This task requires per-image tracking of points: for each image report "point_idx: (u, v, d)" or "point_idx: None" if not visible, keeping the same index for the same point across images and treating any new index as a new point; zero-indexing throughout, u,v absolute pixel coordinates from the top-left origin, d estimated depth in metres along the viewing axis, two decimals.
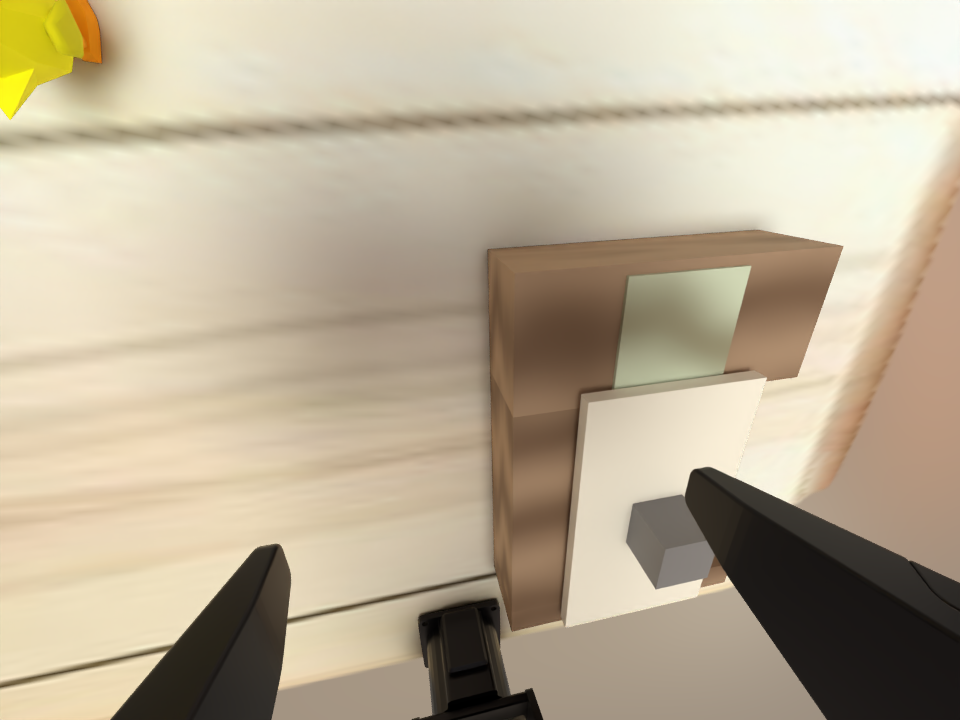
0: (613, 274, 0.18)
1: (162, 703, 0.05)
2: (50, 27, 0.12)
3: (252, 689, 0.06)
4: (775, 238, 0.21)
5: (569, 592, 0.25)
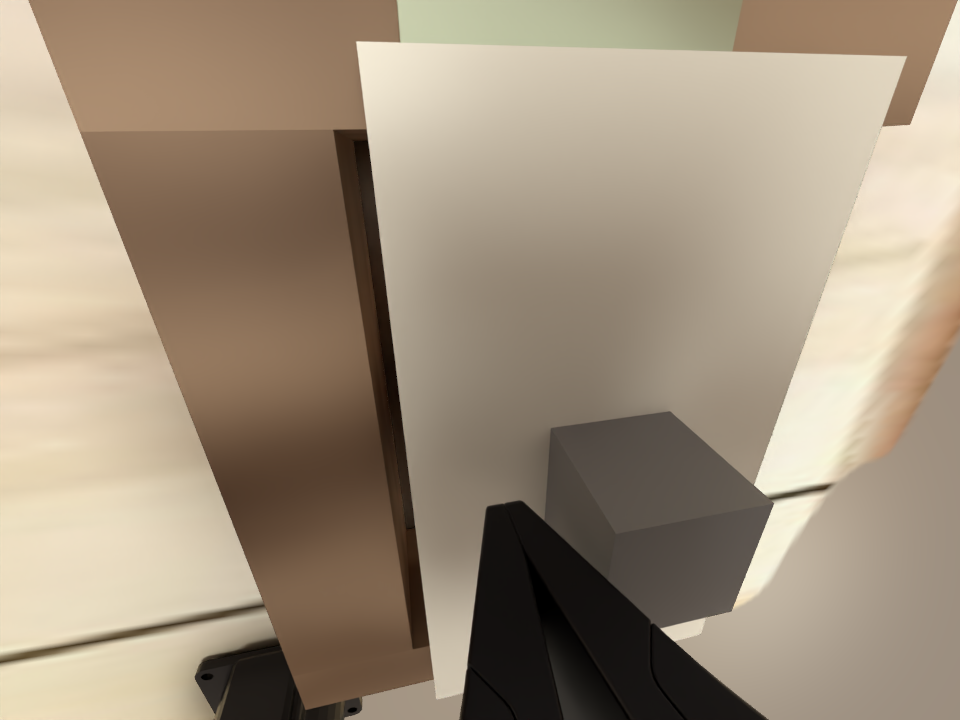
0: None
1: (499, 625, 0.06)
2: None
3: None
4: None
5: (429, 632, 0.12)
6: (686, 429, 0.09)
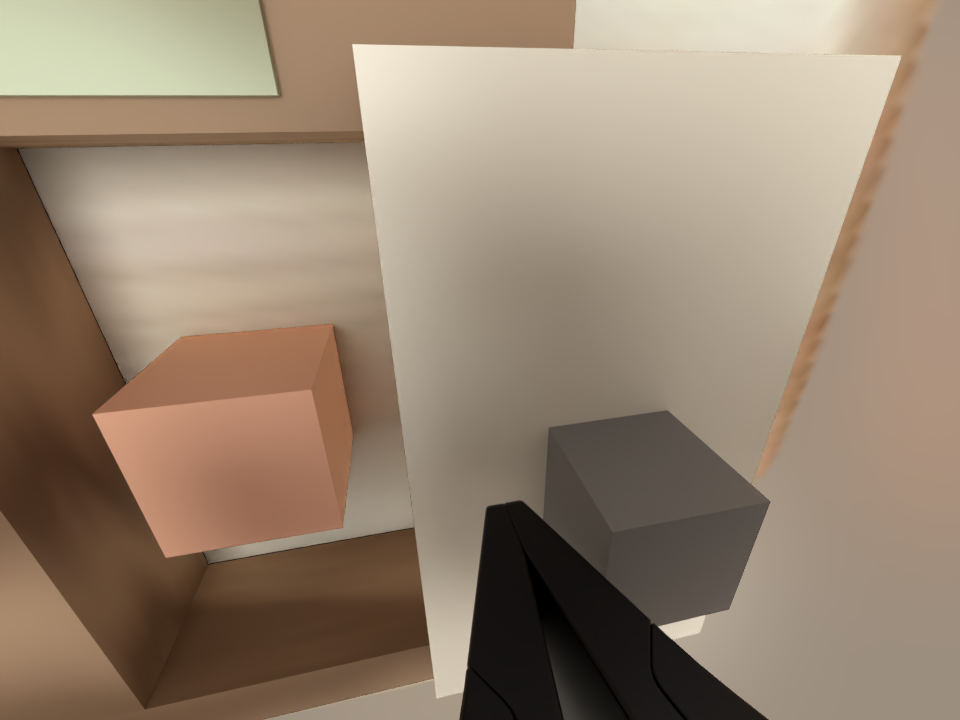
0: None
1: (499, 625, 0.06)
2: None
3: None
4: None
5: (429, 631, 0.12)
6: (684, 428, 0.09)
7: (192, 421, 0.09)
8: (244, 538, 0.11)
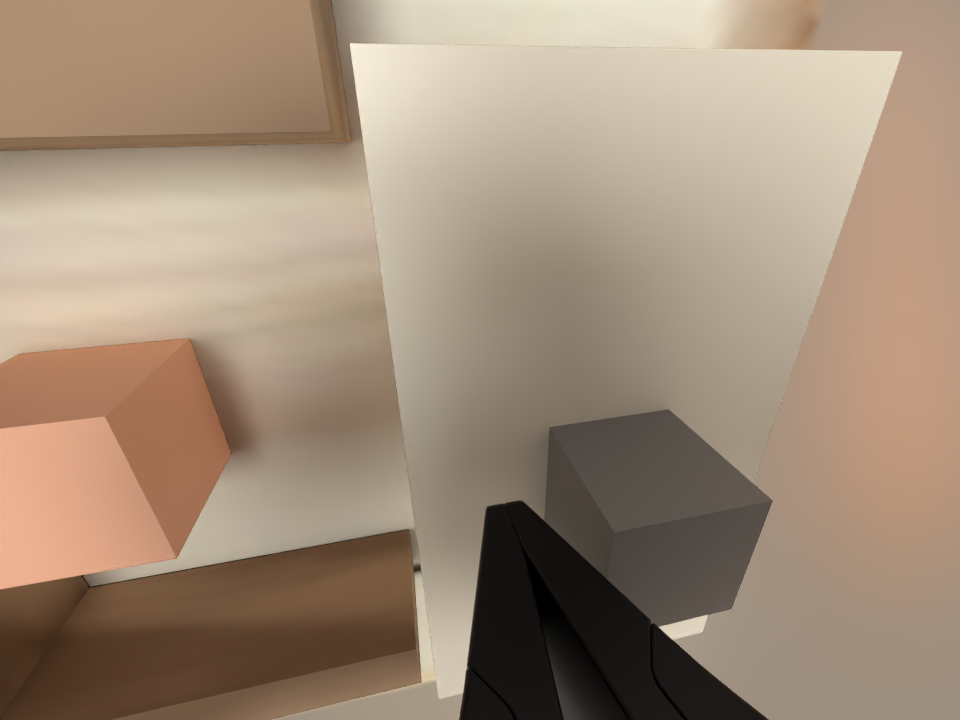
0: None
1: (499, 625, 0.06)
2: None
3: None
4: None
5: (431, 632, 0.12)
6: (686, 427, 0.09)
7: None
8: (62, 572, 0.10)
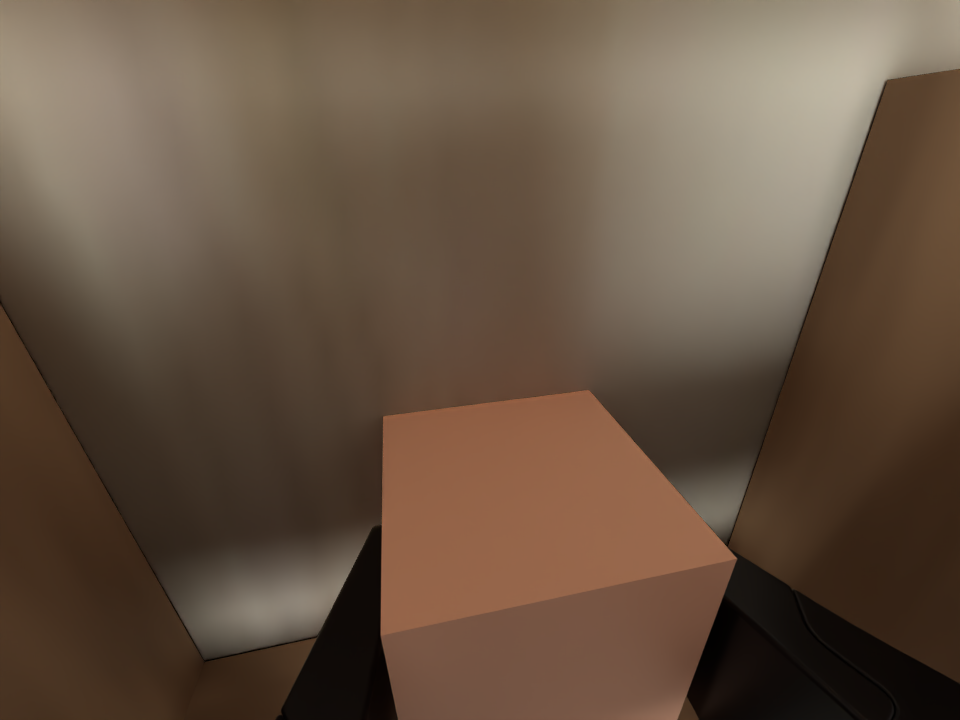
0: None
1: (337, 663, 0.06)
2: None
3: None
4: None
5: None
6: None
7: None
8: (683, 674, 0.06)
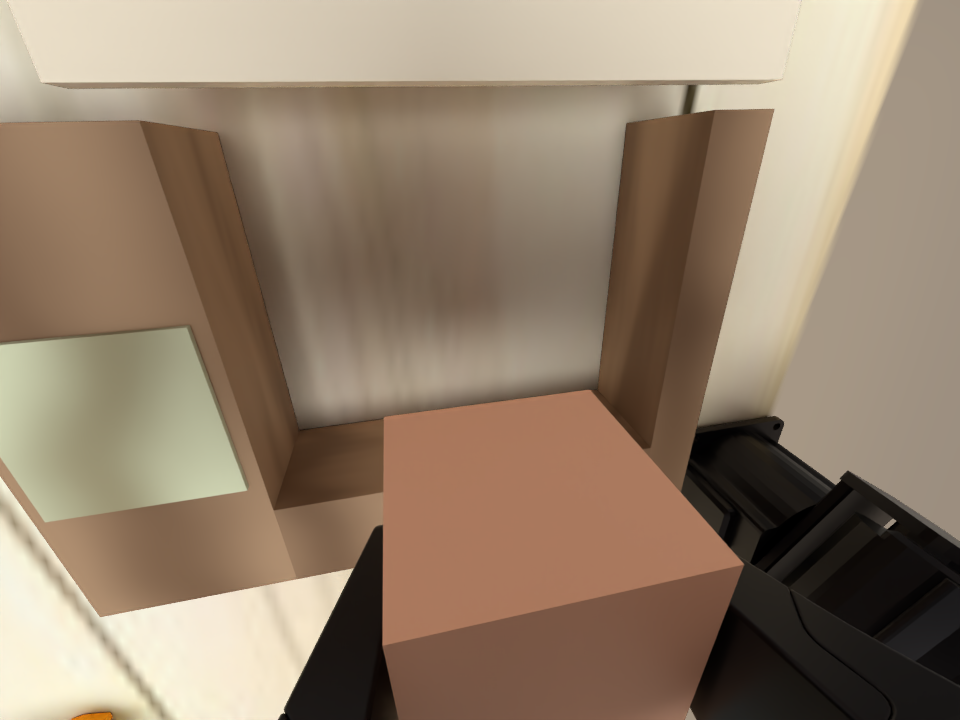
0: (55, 532, 0.14)
1: (338, 662, 0.06)
2: None
3: None
4: None
5: (662, 78, 0.10)
6: None
7: None
8: (689, 679, 0.06)
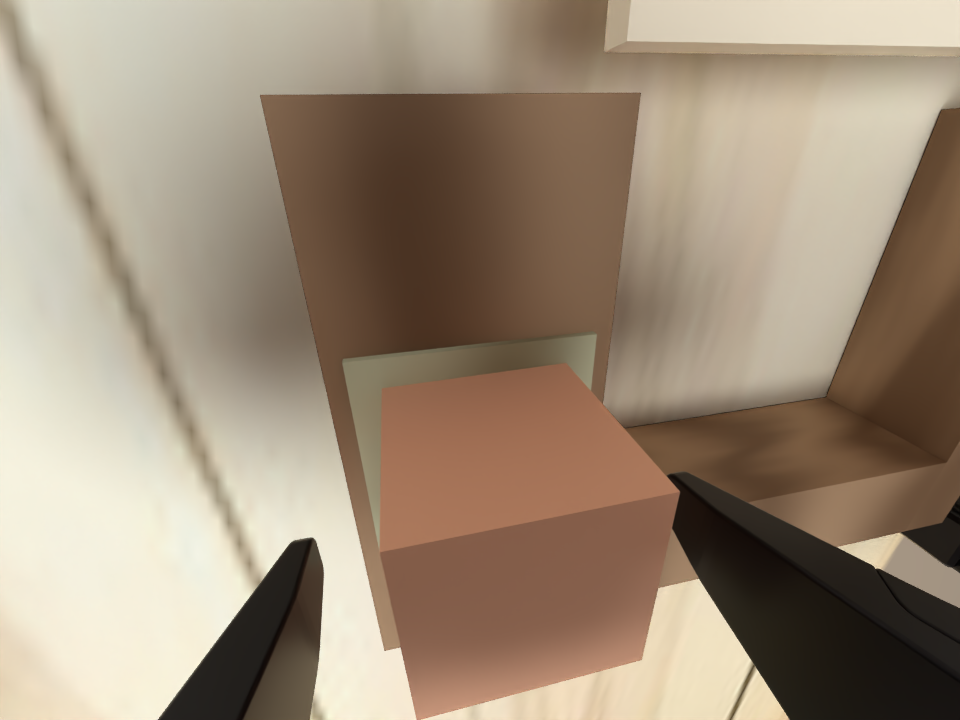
0: (378, 561, 0.12)
1: (215, 690, 0.05)
2: None
3: (295, 679, 0.06)
4: None
5: None
6: None
7: (432, 657, 0.07)
8: (644, 600, 0.07)
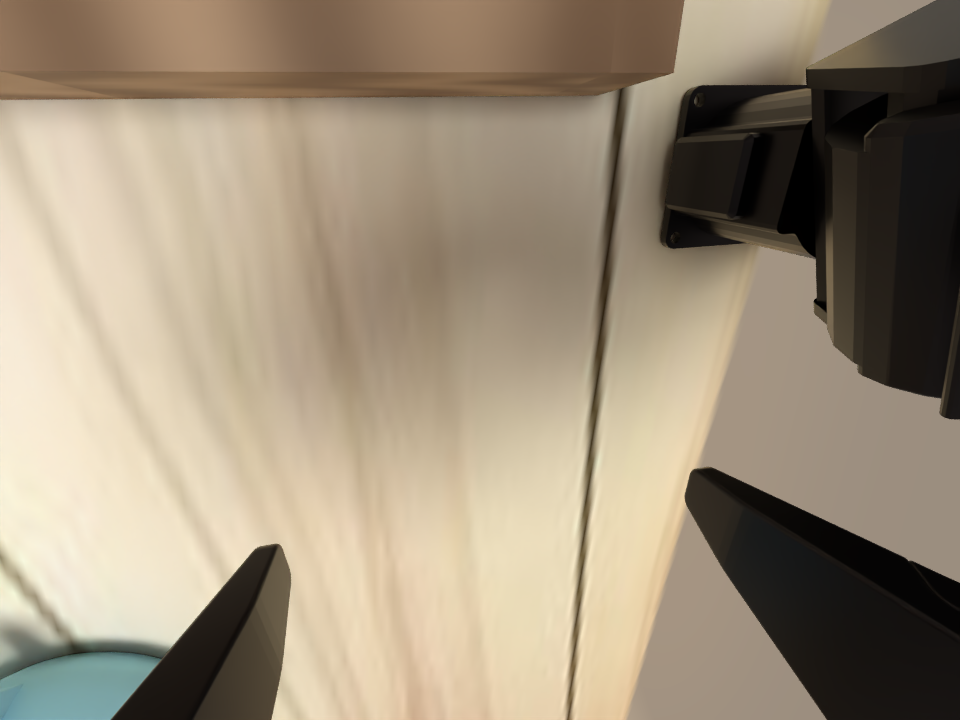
0: None
1: (162, 702, 0.05)
2: None
3: (252, 689, 0.06)
4: None
5: None
6: None
7: None
8: None
